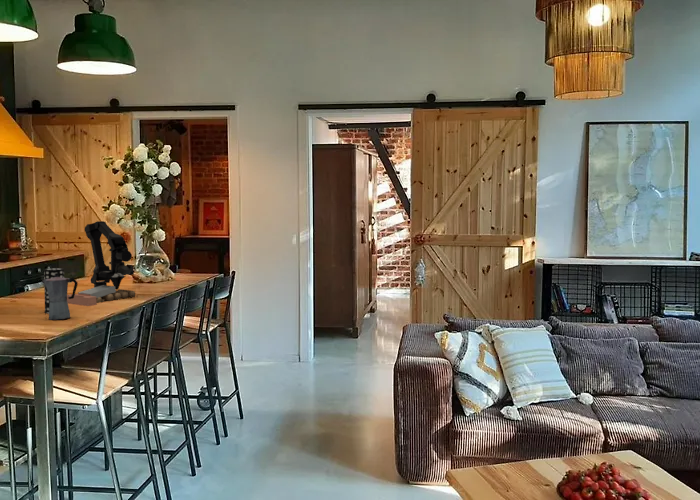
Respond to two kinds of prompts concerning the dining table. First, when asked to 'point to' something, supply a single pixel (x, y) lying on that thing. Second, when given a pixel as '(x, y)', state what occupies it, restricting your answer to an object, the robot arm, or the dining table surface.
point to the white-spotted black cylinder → (47, 275)
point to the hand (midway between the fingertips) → (116, 289)
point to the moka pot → (59, 296)
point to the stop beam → (82, 299)
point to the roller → (98, 300)
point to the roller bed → (118, 295)
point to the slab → (99, 291)
